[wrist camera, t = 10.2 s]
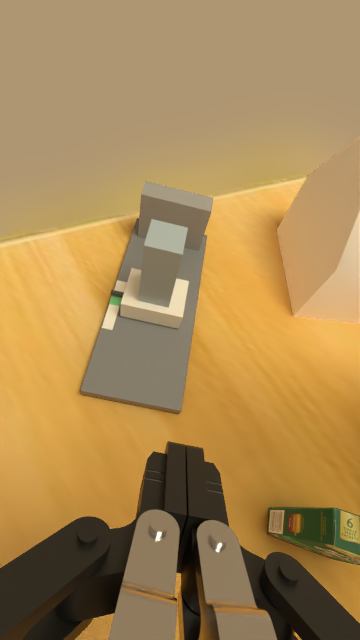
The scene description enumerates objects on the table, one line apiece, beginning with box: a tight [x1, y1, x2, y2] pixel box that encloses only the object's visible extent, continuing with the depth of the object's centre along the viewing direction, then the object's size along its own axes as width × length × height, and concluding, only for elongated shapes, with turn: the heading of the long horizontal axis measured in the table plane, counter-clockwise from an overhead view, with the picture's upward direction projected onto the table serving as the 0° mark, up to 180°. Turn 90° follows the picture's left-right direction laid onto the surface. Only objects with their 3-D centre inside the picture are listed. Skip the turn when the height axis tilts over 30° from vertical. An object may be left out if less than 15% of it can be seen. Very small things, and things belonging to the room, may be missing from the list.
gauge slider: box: [111, 219, 189, 329], centre depth 40 cm, size 10×14×13 cm
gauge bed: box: [80, 181, 213, 414], centre depth 42 cm, size 12×30×10 cm, turn 171°
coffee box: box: [267, 507, 360, 565], centre depth 29 cm, size 8×3×13 cm, turn 72°
